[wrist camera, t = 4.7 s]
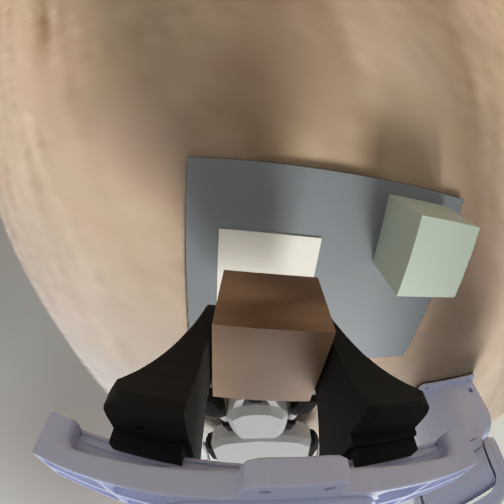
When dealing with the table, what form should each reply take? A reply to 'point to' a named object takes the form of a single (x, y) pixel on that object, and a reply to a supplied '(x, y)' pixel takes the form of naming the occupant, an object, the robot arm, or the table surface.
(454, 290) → the sage block
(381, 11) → the table surface
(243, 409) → the robot toy
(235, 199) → the board
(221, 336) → the walnut block
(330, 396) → the robot arm
